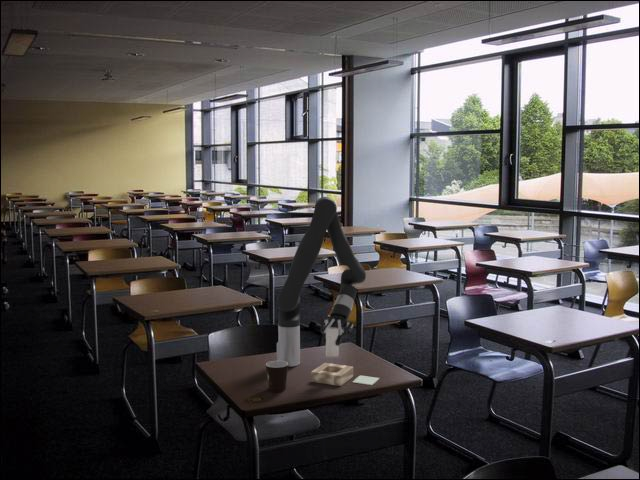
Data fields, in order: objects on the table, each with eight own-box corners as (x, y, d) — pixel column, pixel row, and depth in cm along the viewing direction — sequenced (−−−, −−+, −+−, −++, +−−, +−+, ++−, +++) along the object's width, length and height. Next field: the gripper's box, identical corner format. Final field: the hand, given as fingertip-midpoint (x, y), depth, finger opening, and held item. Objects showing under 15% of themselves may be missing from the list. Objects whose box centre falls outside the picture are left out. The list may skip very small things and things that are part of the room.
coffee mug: (285, 393, 242) (285, 368, 241) (263, 392, 244) (262, 366, 243) (292, 383, 254) (292, 358, 252) (271, 382, 255) (271, 357, 254)
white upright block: (321, 357, 254) (321, 330, 253) (328, 352, 261) (329, 326, 260) (333, 359, 252) (333, 332, 251) (340, 354, 259) (340, 327, 257)
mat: (352, 382, 254) (352, 381, 254) (360, 375, 262) (360, 375, 262) (372, 385, 251) (372, 384, 251) (379, 378, 258) (379, 378, 258)
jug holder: (311, 381, 255) (311, 371, 255) (324, 371, 267) (324, 362, 266) (340, 386, 250) (340, 376, 250) (353, 376, 262) (353, 366, 261)
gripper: (324, 301, 265) (311, 336, 255) (356, 305, 259) (344, 341, 249) (329, 311, 270) (316, 346, 261) (361, 315, 264) (349, 351, 255)
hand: (330, 343), depth 255 cm, fingers closed on white upright block, 5 cm apart
